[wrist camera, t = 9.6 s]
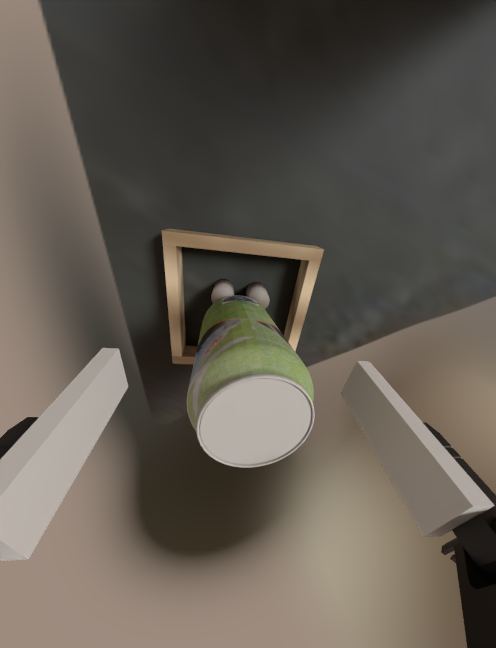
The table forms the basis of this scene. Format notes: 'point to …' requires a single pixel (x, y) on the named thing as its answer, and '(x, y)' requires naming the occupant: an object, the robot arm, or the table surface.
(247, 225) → the table surface
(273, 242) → the peg frame
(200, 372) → the beverage can
